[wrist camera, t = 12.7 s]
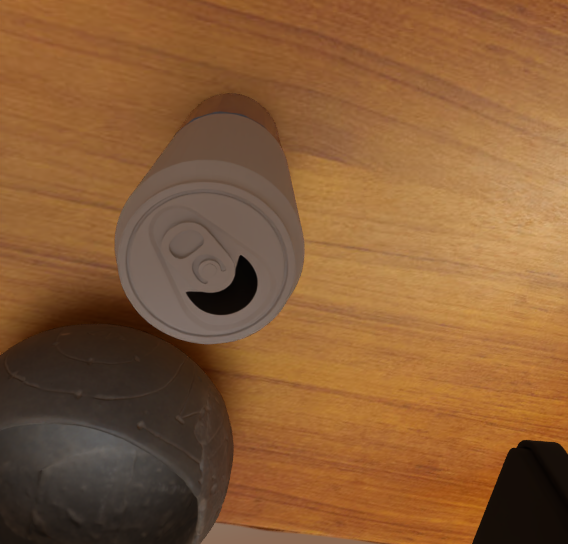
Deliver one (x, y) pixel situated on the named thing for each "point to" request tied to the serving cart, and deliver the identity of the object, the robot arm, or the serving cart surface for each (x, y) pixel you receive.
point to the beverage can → (212, 233)
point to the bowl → (109, 440)
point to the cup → (234, 111)
